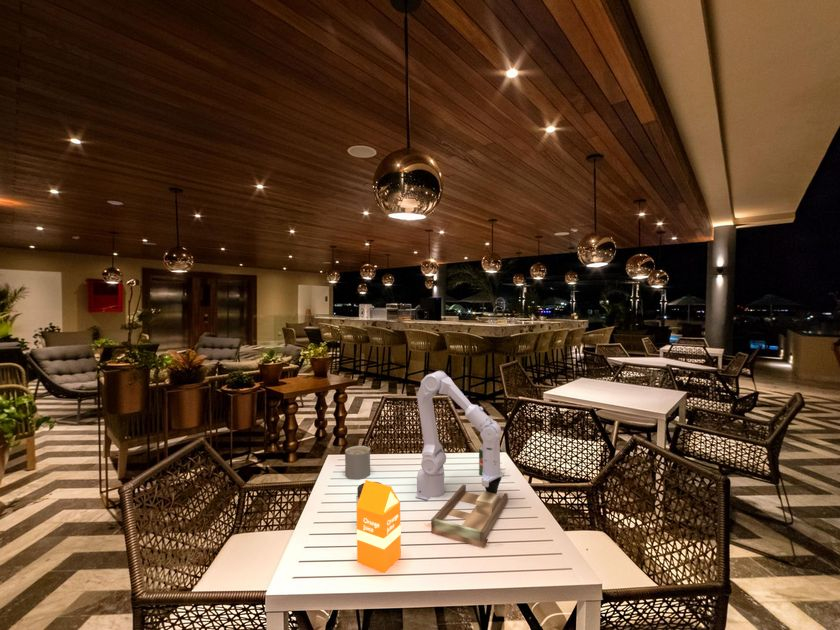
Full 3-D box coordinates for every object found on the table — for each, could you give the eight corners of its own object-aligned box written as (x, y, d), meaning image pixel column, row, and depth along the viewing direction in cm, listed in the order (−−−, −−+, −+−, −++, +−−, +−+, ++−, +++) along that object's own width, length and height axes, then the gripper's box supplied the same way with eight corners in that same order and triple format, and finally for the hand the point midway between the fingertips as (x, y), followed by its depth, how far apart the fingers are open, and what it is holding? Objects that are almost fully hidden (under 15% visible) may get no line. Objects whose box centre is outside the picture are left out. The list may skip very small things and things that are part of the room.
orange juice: (374, 546, 104) (374, 474, 105) (401, 556, 100) (400, 481, 100) (356, 562, 98) (355, 485, 98) (384, 573, 93) (383, 493, 93)
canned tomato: (475, 474, 152) (474, 447, 152) (488, 469, 156) (488, 443, 157) (489, 481, 145) (489, 452, 145) (503, 476, 150) (502, 448, 150)
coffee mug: (359, 481, 146) (358, 456, 146) (340, 476, 152) (340, 451, 152) (380, 469, 158) (380, 445, 158) (362, 465, 163) (361, 442, 163)
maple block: (476, 512, 119) (476, 500, 119) (483, 503, 125) (483, 490, 125) (491, 516, 117) (491, 503, 117) (498, 506, 123) (497, 494, 123)
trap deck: (431, 533, 111) (431, 519, 111) (463, 495, 134) (463, 484, 134) (483, 547, 103) (483, 533, 103) (507, 505, 126) (507, 493, 126)
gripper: (497, 468, 117) (497, 512, 117) (508, 453, 130) (509, 493, 130) (475, 465, 121) (476, 507, 120) (488, 450, 133) (489, 489, 133)
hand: (491, 499), depth 126 cm, fingers closed
